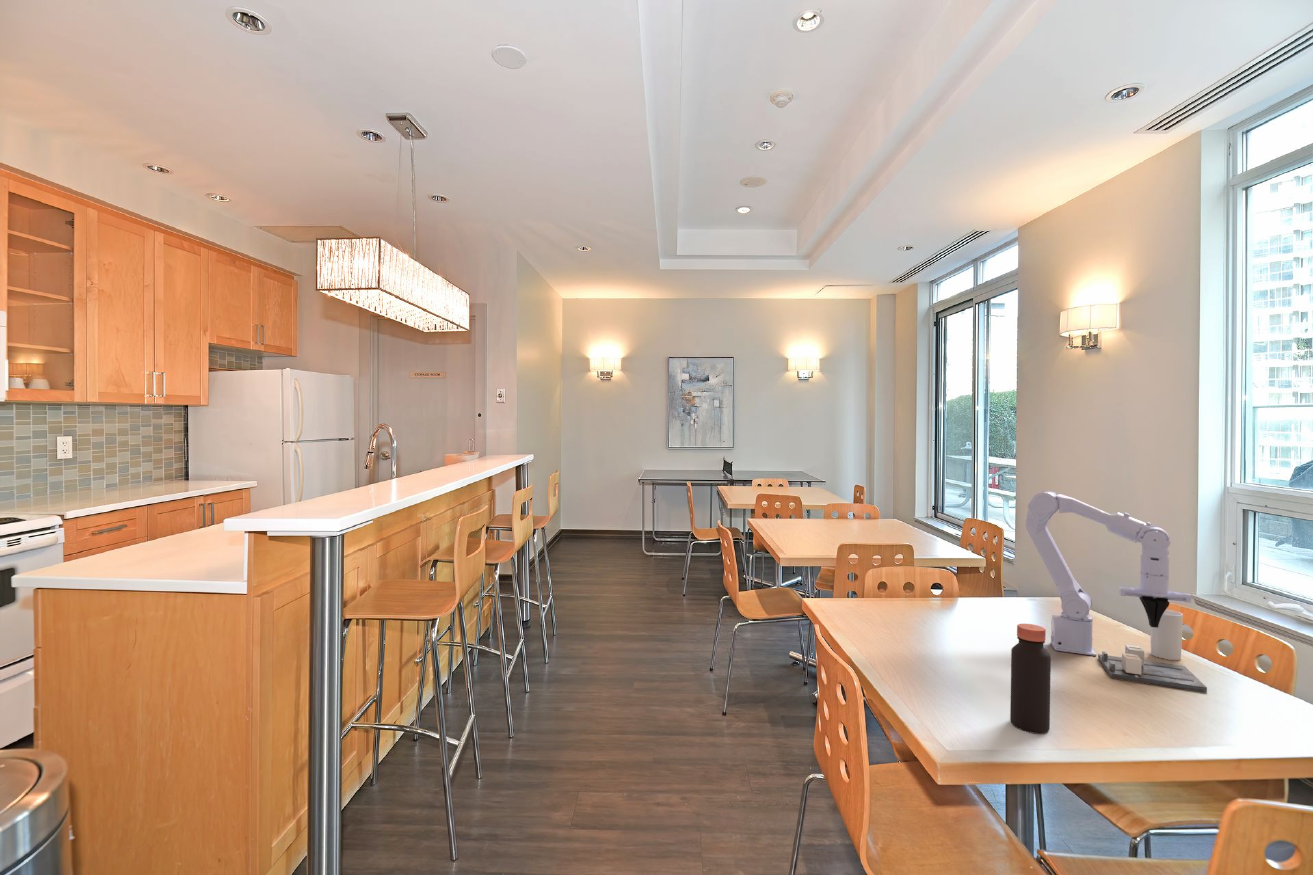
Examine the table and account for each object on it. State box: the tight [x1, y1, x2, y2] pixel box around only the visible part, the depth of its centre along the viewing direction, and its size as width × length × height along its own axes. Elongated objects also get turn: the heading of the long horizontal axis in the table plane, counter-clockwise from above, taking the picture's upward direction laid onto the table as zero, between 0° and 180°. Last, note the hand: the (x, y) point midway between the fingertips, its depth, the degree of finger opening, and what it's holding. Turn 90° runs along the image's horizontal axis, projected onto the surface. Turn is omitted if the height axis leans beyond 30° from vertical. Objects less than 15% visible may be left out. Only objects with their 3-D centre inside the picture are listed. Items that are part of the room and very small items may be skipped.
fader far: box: [1124, 644, 1145, 665], centre depth 157 cm, size 3×4×4 cm
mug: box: [1149, 608, 1184, 661], centre depth 167 cm, size 10×7×12 cm, turn 154°
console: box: [1097, 650, 1208, 694], centre depth 152 cm, size 18×15×3 cm
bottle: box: [1009, 623, 1052, 734], centre depth 124 cm, size 7×7×20 cm
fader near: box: [1121, 652, 1142, 675], centre depth 151 cm, size 3×4×4 cm
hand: (1153, 626), depth 159 cm, fingers closed
